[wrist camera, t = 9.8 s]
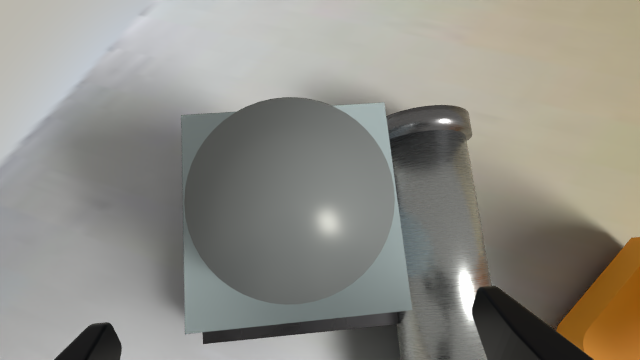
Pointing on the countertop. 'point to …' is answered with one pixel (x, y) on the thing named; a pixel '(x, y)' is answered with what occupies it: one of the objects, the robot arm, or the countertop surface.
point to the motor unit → (423, 243)
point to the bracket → (609, 310)
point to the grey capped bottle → (290, 215)
